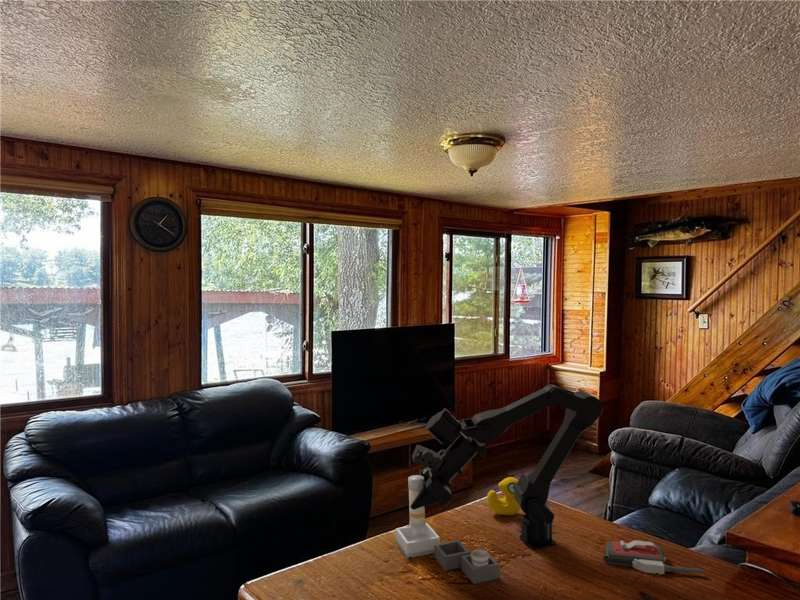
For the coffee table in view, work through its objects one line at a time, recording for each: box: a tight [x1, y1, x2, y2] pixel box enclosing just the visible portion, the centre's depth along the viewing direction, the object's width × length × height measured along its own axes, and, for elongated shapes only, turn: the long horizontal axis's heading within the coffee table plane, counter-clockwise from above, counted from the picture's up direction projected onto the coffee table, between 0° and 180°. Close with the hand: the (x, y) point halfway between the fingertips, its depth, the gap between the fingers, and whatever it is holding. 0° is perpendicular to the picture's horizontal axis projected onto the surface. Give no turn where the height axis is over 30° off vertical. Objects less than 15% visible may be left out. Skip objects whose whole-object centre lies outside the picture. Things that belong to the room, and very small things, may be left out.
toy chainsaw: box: [602, 539, 705, 575], centre depth 123 cm, size 9×4×20 cm
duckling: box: [486, 476, 522, 516], centre depth 149 cm, size 11×5×10 cm, turn 88°
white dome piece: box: [470, 548, 490, 568], centre depth 120 cm, size 4×4×4 cm
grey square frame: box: [434, 539, 471, 571], centre depth 125 cm, size 6×6×3 cm
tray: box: [395, 522, 441, 559], centre depth 132 cm, size 8×8×4 cm
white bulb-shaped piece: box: [407, 474, 426, 535], centre depth 132 cm, size 4×4×13 cm
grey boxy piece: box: [460, 553, 501, 585], centre depth 120 cm, size 6×6×3 cm
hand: (411, 504), depth 132 cm, fingers closed on white bulb-shaped piece, 4 cm apart
